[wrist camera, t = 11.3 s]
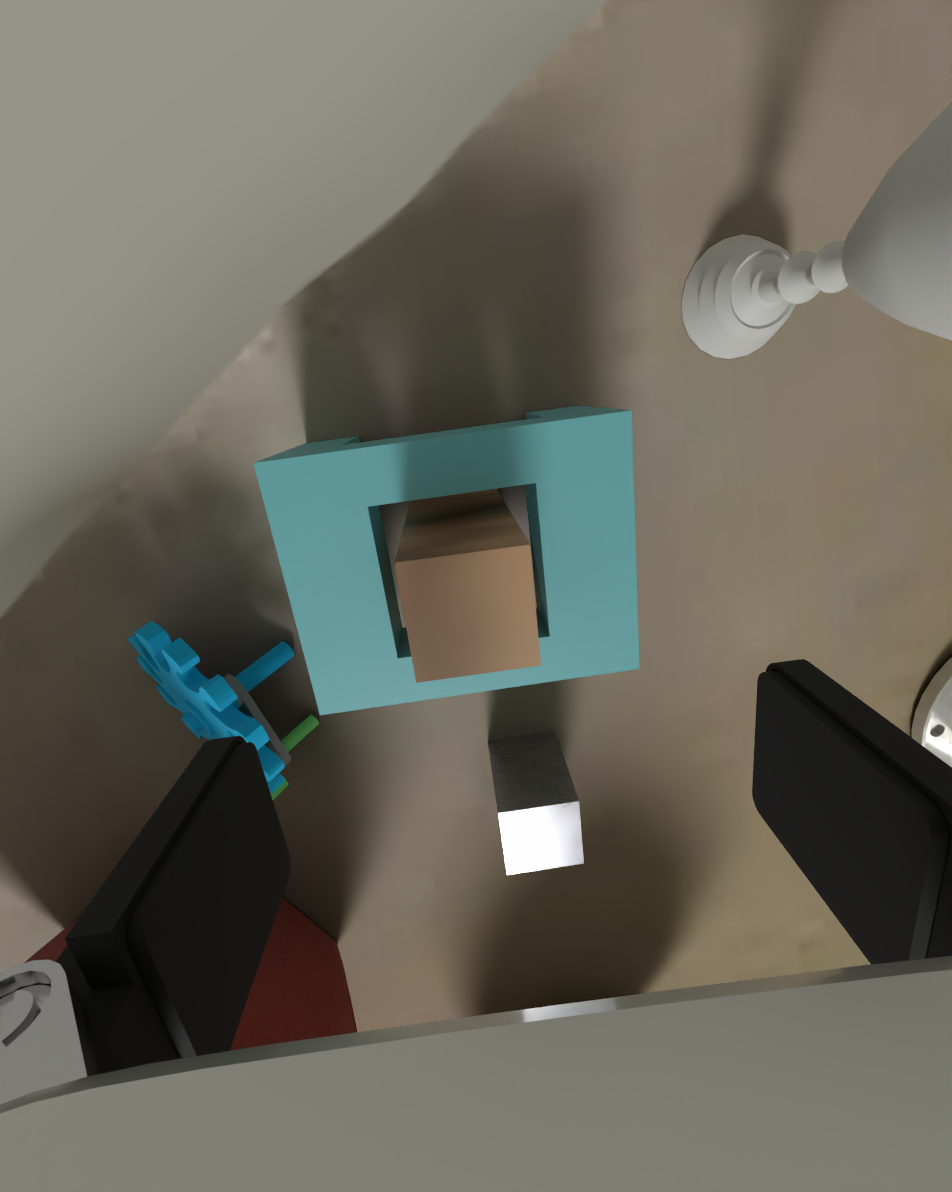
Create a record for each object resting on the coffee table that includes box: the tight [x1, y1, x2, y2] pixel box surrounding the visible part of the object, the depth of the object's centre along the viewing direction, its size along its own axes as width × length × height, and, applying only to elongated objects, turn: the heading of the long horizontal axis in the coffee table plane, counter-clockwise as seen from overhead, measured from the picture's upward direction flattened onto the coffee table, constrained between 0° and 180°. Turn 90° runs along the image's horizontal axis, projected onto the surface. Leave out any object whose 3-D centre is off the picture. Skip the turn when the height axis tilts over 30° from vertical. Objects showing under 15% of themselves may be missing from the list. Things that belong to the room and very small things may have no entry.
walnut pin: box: [395, 489, 541, 683], centre depth 23 cm, size 4×4×12 cm
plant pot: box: [25, 898, 357, 1051], centre depth 29 cm, size 19×19×17 cm
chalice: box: [682, 103, 952, 359], centre depth 17 cm, size 7×7×18 cm
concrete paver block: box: [488, 731, 584, 875], centre depth 31 cm, size 4×4×6 cm
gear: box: [127, 621, 319, 800], centre depth 28 cm, size 11×6×10 cm
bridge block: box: [253, 406, 639, 715], centre depth 24 cm, size 13×10×8 cm
